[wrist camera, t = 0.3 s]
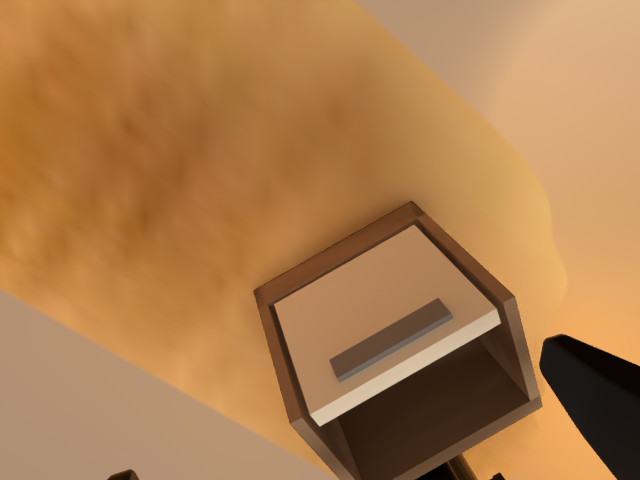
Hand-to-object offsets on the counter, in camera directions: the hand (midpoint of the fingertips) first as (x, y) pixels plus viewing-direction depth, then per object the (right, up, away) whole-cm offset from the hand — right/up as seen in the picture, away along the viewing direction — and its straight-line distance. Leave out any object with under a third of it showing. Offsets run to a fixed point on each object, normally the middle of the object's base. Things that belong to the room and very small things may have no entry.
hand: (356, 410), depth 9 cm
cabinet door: (0, +2, +13) cm, 13 cm away
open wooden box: (+2, 0, +17) cm, 17 cm away
